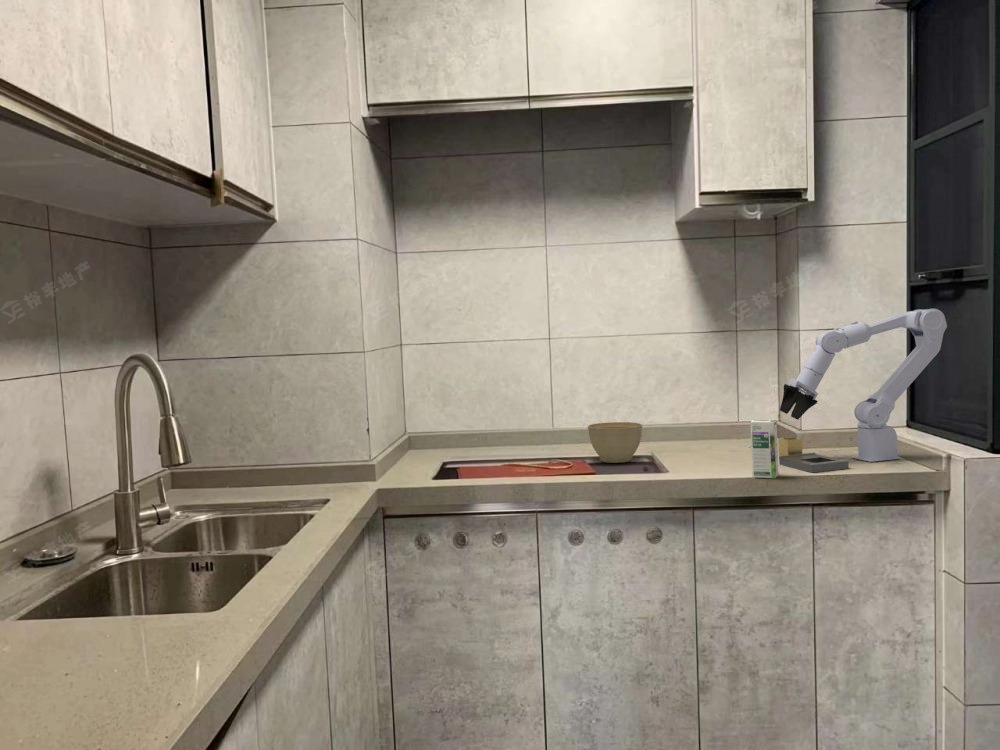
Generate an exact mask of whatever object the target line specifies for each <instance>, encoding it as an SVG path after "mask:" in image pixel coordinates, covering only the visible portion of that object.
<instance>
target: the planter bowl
mask: <svg viewBox="0 0 1000 750" xmlns="http://www.w3.org/2000/svg"><path fill="white" fill-rule="evenodd" d="M587 430H588V435H589V441H590V443H591V446H592V448H593V450H594V451H595V453H596V454H597V455H598V457H599V460H600V462H603V463H609V464H610V463H614V464H617V463H623V464H624V463H626V462H631V461H632V460H633V457H634V455H635V453H636V452H637V450H638V448H639V446H640V444H641V441H642V440H641V439H642V430H643V423H639V422H630V421H618V422H617V421H615V422H612V421H611V422H599V423H598V422H597V423H592V424H588V426H587Z"/></svg>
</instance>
